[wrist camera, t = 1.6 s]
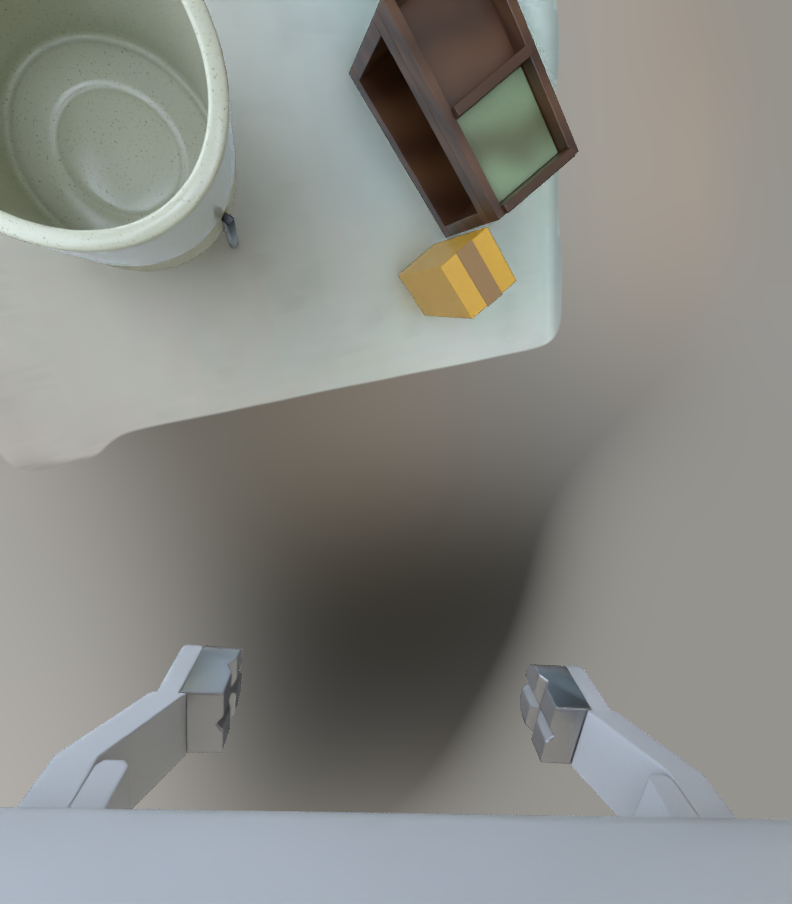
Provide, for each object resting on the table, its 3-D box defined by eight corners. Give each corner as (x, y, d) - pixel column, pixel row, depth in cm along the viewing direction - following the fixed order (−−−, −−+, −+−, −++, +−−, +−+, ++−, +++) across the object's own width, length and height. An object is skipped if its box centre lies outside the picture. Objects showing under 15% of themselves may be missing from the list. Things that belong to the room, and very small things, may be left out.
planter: (232, 94, 39) (214, -141, 19) (243, 282, 44) (239, 262, 23) (29, 57, 35) (-296, -309, 14) (66, 271, 40) (-133, 236, 19)
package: (397, 274, 49) (440, 266, 38) (434, 243, 49) (487, 225, 38) (425, 316, 51) (473, 319, 40) (460, 285, 51) (517, 281, 40)
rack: (348, 73, 42) (383, -9, 31) (424, 10, 42) (485, -93, 31) (445, 237, 49) (501, 219, 38) (509, 183, 49) (582, 149, 38)
